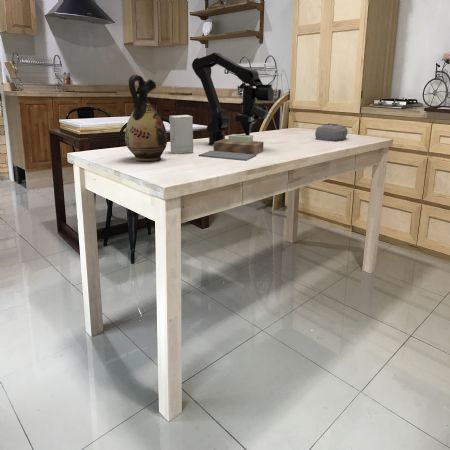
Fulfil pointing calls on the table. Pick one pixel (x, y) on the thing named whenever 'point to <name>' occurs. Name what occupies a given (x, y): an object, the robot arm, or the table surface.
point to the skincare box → (181, 134)
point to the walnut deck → (238, 147)
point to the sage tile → (240, 138)
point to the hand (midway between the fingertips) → (247, 136)
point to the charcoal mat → (228, 155)
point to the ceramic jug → (144, 124)
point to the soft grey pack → (331, 132)
